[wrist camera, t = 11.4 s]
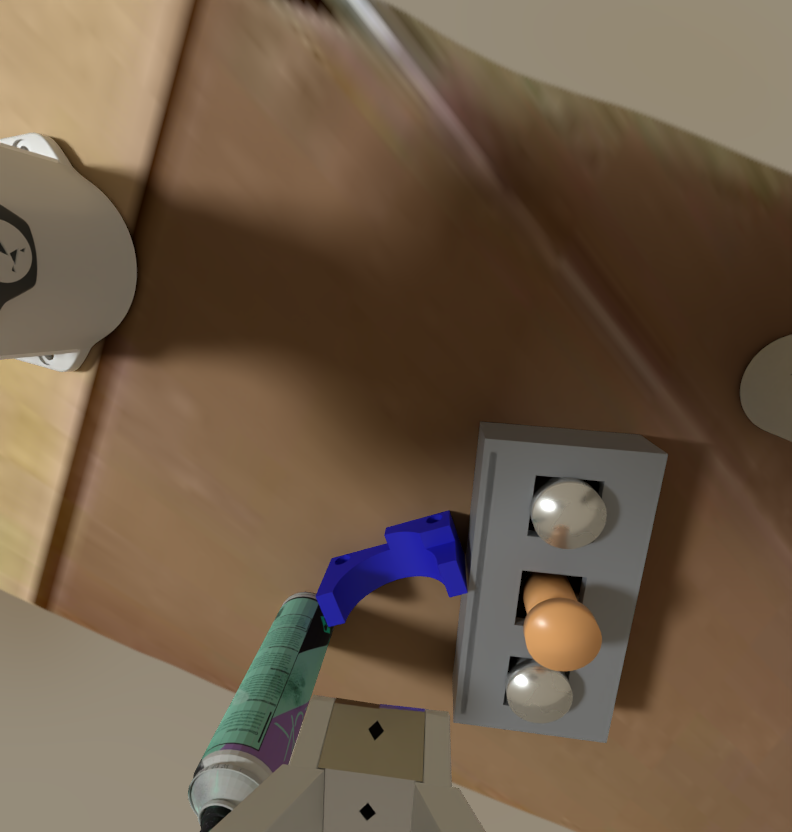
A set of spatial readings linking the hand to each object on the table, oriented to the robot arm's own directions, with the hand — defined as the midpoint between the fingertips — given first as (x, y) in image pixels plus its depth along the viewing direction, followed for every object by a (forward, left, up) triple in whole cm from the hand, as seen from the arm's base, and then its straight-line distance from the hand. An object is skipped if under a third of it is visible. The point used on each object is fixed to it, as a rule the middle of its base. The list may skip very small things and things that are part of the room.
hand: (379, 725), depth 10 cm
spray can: (-10, -22, -31) cm, 39 cm away
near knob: (+11, -6, -31) cm, 33 cm away
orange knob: (+11, -14, -28) cm, 33 cm away
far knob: (+11, -22, -31) cm, 39 cm away
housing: (+11, -14, -31) cm, 35 cm away
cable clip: (-2, -14, -31) cm, 34 cm away
